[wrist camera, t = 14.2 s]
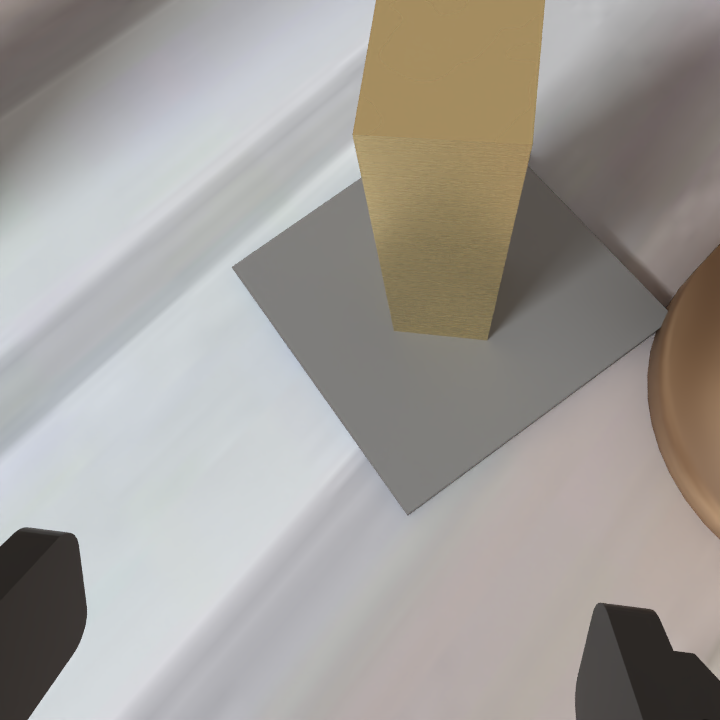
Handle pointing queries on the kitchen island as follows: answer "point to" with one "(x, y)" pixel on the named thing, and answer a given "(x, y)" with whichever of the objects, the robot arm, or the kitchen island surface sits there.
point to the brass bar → (446, 152)
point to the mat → (443, 353)
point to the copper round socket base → (690, 390)
